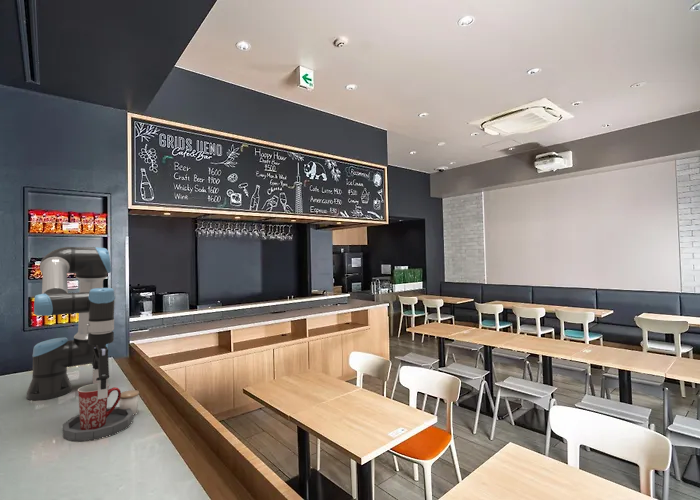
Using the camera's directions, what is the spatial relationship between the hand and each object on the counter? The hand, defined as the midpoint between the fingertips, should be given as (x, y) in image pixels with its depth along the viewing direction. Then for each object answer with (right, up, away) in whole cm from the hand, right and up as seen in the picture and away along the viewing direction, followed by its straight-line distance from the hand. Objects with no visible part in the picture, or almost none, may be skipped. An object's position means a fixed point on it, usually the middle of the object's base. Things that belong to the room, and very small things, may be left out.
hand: (99, 392), depth 128 cm
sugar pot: (+4, -12, +11) cm, 17 cm away
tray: (0, -12, -1) cm, 12 cm away
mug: (0, -11, -1) cm, 11 cm away
